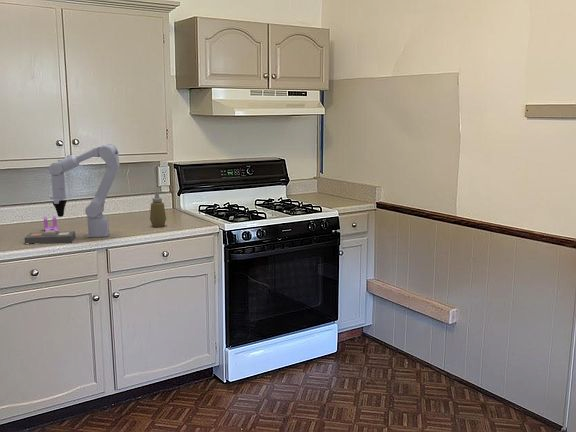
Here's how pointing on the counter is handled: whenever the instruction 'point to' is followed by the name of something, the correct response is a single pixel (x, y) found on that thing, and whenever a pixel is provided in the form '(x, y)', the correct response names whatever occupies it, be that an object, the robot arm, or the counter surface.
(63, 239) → the grey slotted base
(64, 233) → the cream key
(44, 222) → the bracket
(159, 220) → the squeeze bottle
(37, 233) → the terracotta key
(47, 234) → the grey key
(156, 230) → the counter surface
